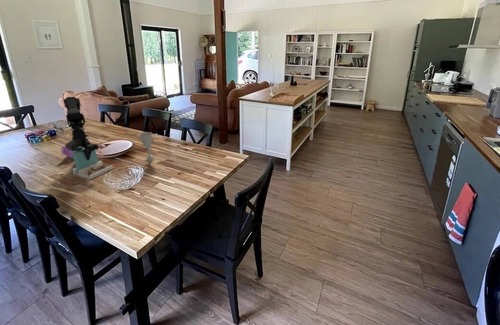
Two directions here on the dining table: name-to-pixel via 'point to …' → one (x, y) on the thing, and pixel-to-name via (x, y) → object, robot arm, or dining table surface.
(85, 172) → the rack
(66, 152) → the teapot
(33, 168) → the dining table surface
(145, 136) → the chalice
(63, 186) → the dining table surface
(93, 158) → the teal flat block
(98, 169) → the offcut stack
